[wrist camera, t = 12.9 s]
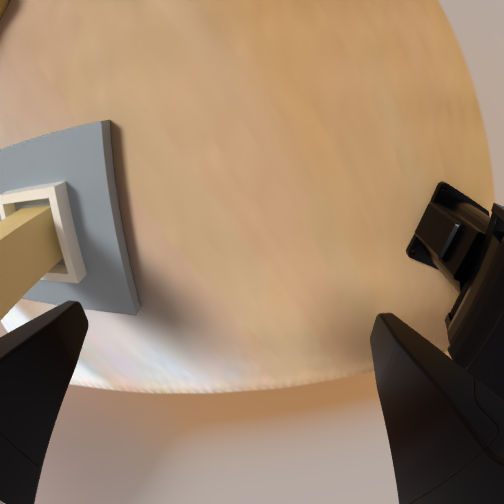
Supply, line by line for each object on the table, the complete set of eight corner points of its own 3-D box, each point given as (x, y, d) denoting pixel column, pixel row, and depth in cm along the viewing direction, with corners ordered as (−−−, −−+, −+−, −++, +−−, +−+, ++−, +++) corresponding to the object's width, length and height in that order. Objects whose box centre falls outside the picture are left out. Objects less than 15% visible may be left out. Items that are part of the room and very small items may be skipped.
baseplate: (109, 119, 17) (89, 122, 15) (140, 306, 25) (129, 326, 22) (-12, 154, 18) (-30, 161, 16) (25, 292, 25) (12, 305, 23)
